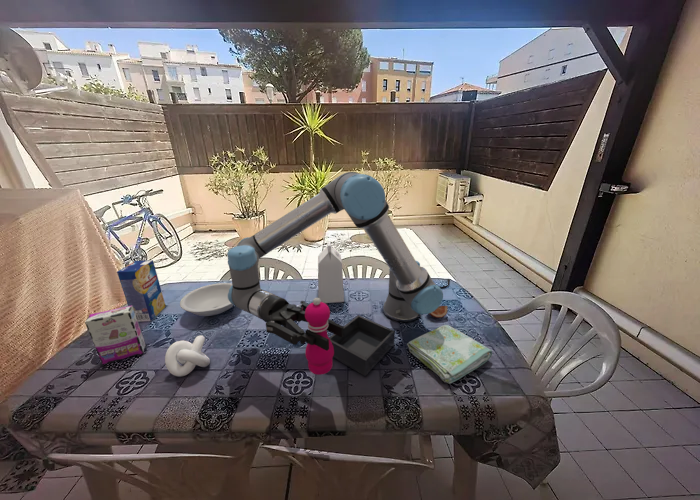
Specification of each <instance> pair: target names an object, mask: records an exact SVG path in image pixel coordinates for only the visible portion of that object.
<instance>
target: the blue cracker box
mask: <svg viewBox="0 0 700 500" xmlns="http://www.w3.org/2000/svg"><path fill="white" fill-rule="evenodd" d="M116 274H117V277H118V280H119V283H120V285H121V289H122V292H123V294H124V297H125V301H126V303H127V306H133V309H134V312H135V315H136V318H137V321H138V323H140V322H151V321H152V322H153V320H154V319H155V318H156V317H157V316H158V315H159V314H160V313H162V312H163V310H164V309H165V308H166V306H167V305H166V302H165V298H164V294H163V291H162V288H161V284H160V281H159V276H158V273H157V270H156V266H155V262H154V260H153V259H149V260H148V259H146V260H134V261H133V262H131V263H129V264H128V265H126V266H124V267H122V268H121V269H119V270H118V271H116Z"/></svg>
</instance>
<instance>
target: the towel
mask: <svg viewBox="0 0 700 500" xmlns="http://www.w3.org/2000/svg"><path fill="white" fill-rule="evenodd" d="M406 346H407V347H408V350H409V351H408V352H409V353H410V354H412V355H413V356H414V357H416V358H417V360H419V361H420V362H421V363H422V364H424V365H425V366H426V367H427V368H429V369H430V370H431V371H433V373H434V374H436V375H437V376H438V377H439V379H440V380H441V381H443V382H444V383H446V384H449V385H451V384H453V383H455V382H457V381H458V380H460V379H462V378H463V377H465V376H467V375H468V374H470V373H472V372H473V371H475V370H477V369H478V368H480V367H481V366H483V365H485V364H486V363H487V362H488V361H489V360H490V359H491V358H492V356H493V350H492V349H490V348H488V347H487V346H485V345H484V344H483V343H480V342H479V341H477V340H475V339H474V338H472V337H470V336H468V335H466V333H464V332H462V331H460V330H459V329H456V328H454V327H452V326H450V325H448V324H444V325H441V326H438V327H437V328H435V329H433V330H431V331H428V332H426V333H424V334H422V335H419V336H417V337H416V338H414V339H411V340H410V341H408V343H407V344H406Z"/></svg>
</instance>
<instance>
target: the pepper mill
mask: <svg viewBox="0 0 700 500" xmlns="http://www.w3.org/2000/svg"><path fill="white" fill-rule="evenodd" d="M308 304H309V305H308V306H307V308H306V310H305V318H306V320H307V321H308V322H307V329H308V330H310V331H312V332H314V333H317V334H319V335H321V336H323V337H325V338H327V339H329V337H330V336H329V335H328V331H327V328H328V326H329V324H328V319H330V317H331V310H330V307H329V306H328V304H327V303H323V302H321V300H320V299H319V298H318V297H314V298H313V300H312V302H311V303H308ZM304 352H305V354H304V355H305V358H306V360H307V367H308V370H309V372H310V373H312V374H313V375H317V376H319V375H320V376H321V375H325V374H327V373H329V372H330V371H331V370H332V368H333V359H334V358H333V355H334V348H333V345H332V342H331V341H330V339H329V350H328V351H326V350H324V349H322V348H320V347H318V346H316V345H310V344H308V343H306V346H305V351H304Z"/></svg>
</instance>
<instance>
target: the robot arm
mask: <svg viewBox="0 0 700 500" xmlns="http://www.w3.org/2000/svg"><path fill="white" fill-rule="evenodd" d="M342 211H345V212H346V214H347V215H348V217H349V218H350V220H351V221H352V222H353V224H354V225H355V227H356V228H358V229H363V231H364V232H365V233H366V235H367V236H368V238H369V239H370V241H371V243H372V244H373V245H374V247H375V249H376V250H377V251H378V253H379V254H380V256H381V258H382V259H383V261H384V262H385V263H386V265H387V267H388V268H389V269H388V271H389V275H388V293H387V296H386V300H385V301H384V303H383V308H382V309H383V310H382V311H383V314H384V315H385V317H387V318H388V319H390V320H392V321H395V322H400V323H410V322H415V321H416V320H417V319H419V318H420V315H429V313H432V312H433V311H435V310H436V309H437V308H438V307H439V306H441V305H442V302H443V300H444V291H443V289H444V288H447V287H449V286H450V281H451V279H449V278H448V279H447V284H448V285H447V284H446V285H447V286H445V285H442V286H443V287H441V286H439V285H437V284H436V283H435V282H434V280H433V279H432V277H431V275H430V274H429V272H428V270H427V268H425V267H424V266H421V263H420V262H419V260H416V259H415V257H414V255H413V254H412V252H411V250H410V249H409V247H408V246H407V244H406V242H405V241H404V239H403V237H402V236H401V235H402V234H401V233H400V231H398V229H397V227H396V225H395V224H394V222H393V220H392V219H391V217H390V215H389V211H390V205H389V204H388V201H387V200H386V192H385V189H384V187H383V185H382V184H381V183H380V181H378V180H377V179H376V178H374V177H373V176H371V175H369V174H365V173H359V172H356V171H348V172H344V173H342V174H340V175H339V176H337V177H335V178H334V179H333V180H331V181H330V182H328V183H327V184H325V185H324V186H323V187H321V188H320V189H319V192H318V193H317V194H316V195H314V196H312V197H311V198H310V199H308V200H307V201H305V202H303V203H302V204H300V205H298V206H297V207H295V208H294V209H292V210H290V211H288V213H286V214H284V215H283V216H281V217H280V218H278V219H276V220H275V221H273V222H272V223H270V224H268V225H267V226H265V227H264V228H262V229H260V230H259V231H257V232H256V233H254V234H253V235H250V236H249V237H247V236H246V237H244V238H242V239H241V240H240V241H239V242H238V243H237V245H236V246H233V247H231V248H229V249H228V251H227V252H226V255H227V265H228V268H229V273H230V279H231V283H232V286H231V287H230V289H229V292H228V299H229V301H230V302H231V303H232V304H233V306H234V307H236V308H237V309H240V310H242V311H243V312H246V313H248V314H250V315H252V316H254V317H256V318H257V319H260V320H262V321H264V322H265V330H266V333H269V334H273V335H275V336H277V337H279V338H281V339H282V340H284V341H286V342H288V343H290V344H292V345H297V344H298V342H299V343H300V345H305V344H310V345H316V346H318V347H320V348H322V349H324V350H326V351H328V350H329V339H327V338H325V337H323V336H321V335H319V334H317V333H314V332H312V331H310V330H309V329H308V328H307V329H306V330H304V329H303V328H302V327H301V326H300V325H299V324H297V323H301V322H305V323H308V321H307V320H306V318H305V310H306V308H307V306H308V305H309V304H310V303H308V302H306V301H305V300H301V301H300V303H299V304H297V305H296V304H294V303H290V302H289V301H287V300H286V298H283V297H281V296H279V295H276V294H274V293H272V292H269V291H267V290H265V289H262V288H261V282H260V281H261V280H260V274H259V262H260V259H261V258H263V257H264V256H266V255H267V254H269V253H271V252H272V251H274V250H275V249H277V248H278V247H280V246H282V245H284V244H285V243H286V242H288V241H290V240H291V239H292V238H295V236H297V235H299V234H301V233H302V232H304V231H306V230H307V229H308V228H310V227H311V226H314V225H315V224H316V223H318V222H320V221H321V220H323V219H324V218H326V217H328V216H329V215H332V214H335V215H337V213H339V212H342ZM296 322H297V323H296ZM328 324H329V326H328V328H327V332H329V333H331V334H332V335H333V334H336V335H338V336H340V337H343V336H344V326H345V325H341V324H338V323H336V322H335V320H332V319H330V318H329V319H328Z"/></svg>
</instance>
